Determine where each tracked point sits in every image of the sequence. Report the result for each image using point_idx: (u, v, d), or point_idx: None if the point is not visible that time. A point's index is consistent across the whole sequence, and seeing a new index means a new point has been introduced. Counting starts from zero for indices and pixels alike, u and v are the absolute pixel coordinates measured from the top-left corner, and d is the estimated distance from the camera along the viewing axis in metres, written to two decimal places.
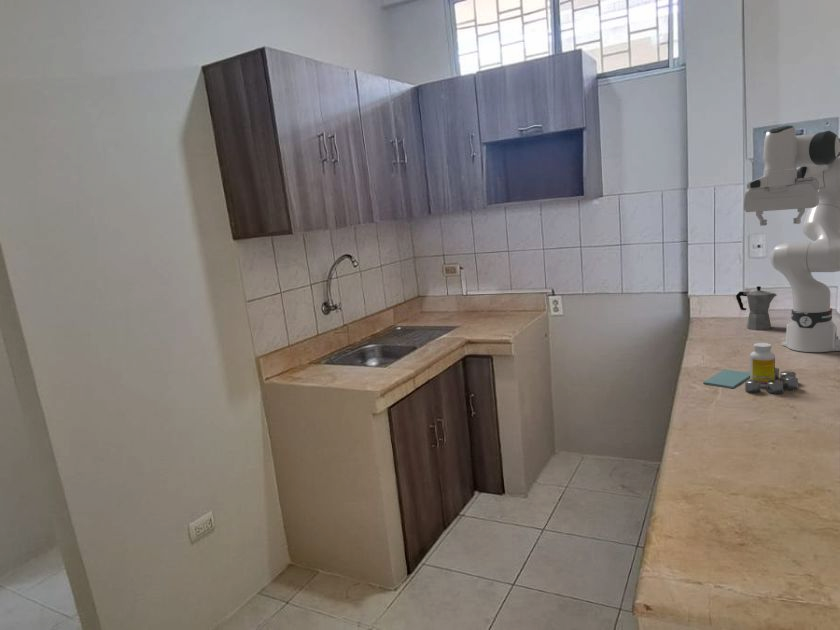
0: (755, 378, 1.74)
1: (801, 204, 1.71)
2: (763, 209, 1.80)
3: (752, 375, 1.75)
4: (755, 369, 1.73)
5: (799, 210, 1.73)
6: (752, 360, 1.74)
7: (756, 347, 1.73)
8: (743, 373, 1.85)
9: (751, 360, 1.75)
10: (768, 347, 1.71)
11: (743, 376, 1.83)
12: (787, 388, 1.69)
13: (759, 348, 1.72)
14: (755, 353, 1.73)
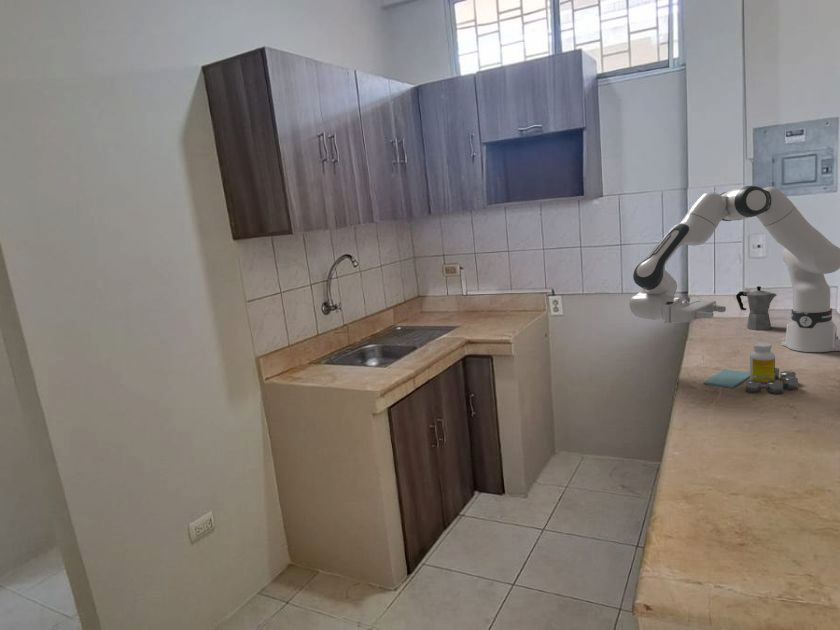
0: (755, 378, 1.74)
1: (708, 301, 1.90)
2: (696, 308, 1.82)
3: (752, 375, 1.75)
4: (755, 369, 1.73)
5: (713, 304, 1.88)
6: (752, 360, 1.74)
7: (756, 347, 1.73)
8: (743, 373, 1.85)
9: (751, 360, 1.75)
10: (768, 347, 1.71)
11: (743, 376, 1.83)
12: (787, 388, 1.69)
13: (759, 348, 1.72)
14: (755, 353, 1.73)
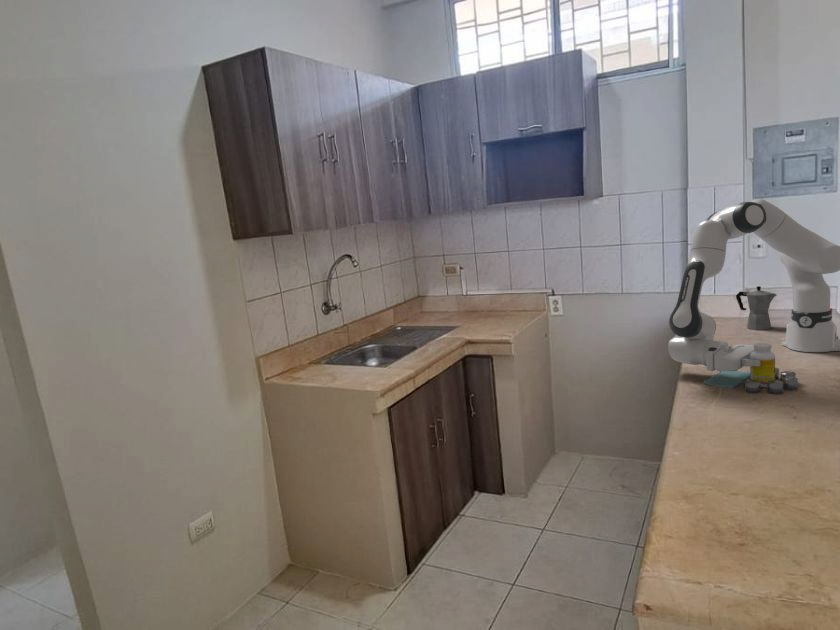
0: (755, 378, 1.74)
1: (752, 347, 1.82)
2: (742, 355, 1.75)
3: (752, 375, 1.75)
4: (755, 369, 1.73)
5: None
6: None
7: (756, 347, 1.73)
8: (743, 373, 1.85)
9: None
10: (768, 347, 1.71)
11: (743, 376, 1.83)
12: (787, 388, 1.69)
13: (759, 348, 1.72)
14: (755, 353, 1.73)
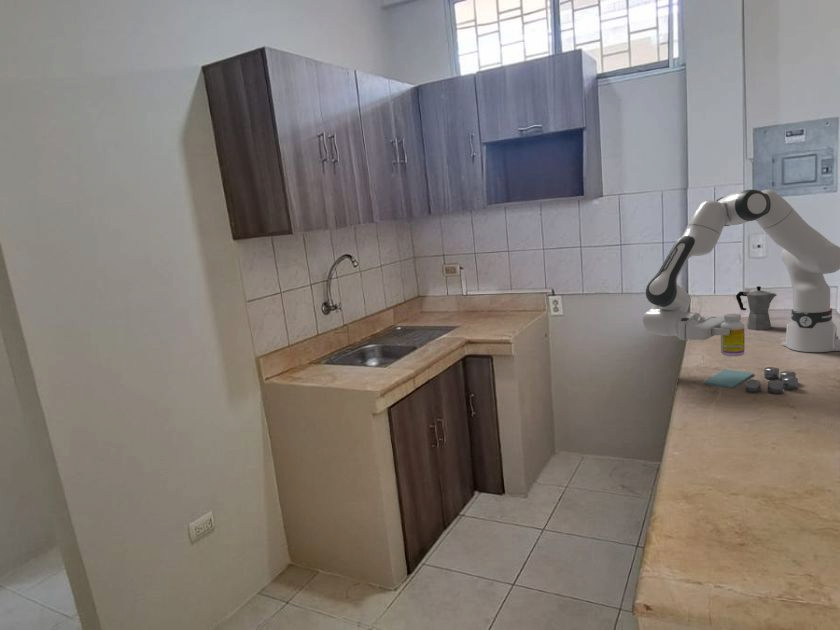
0: (725, 348, 1.79)
1: (723, 318, 1.87)
2: (712, 325, 1.79)
3: (722, 345, 1.80)
4: (725, 339, 1.78)
5: None
6: None
7: (726, 317, 1.78)
8: (743, 373, 1.85)
9: None
10: (738, 317, 1.76)
11: (743, 376, 1.83)
12: (787, 388, 1.69)
13: (729, 318, 1.77)
14: (725, 323, 1.78)
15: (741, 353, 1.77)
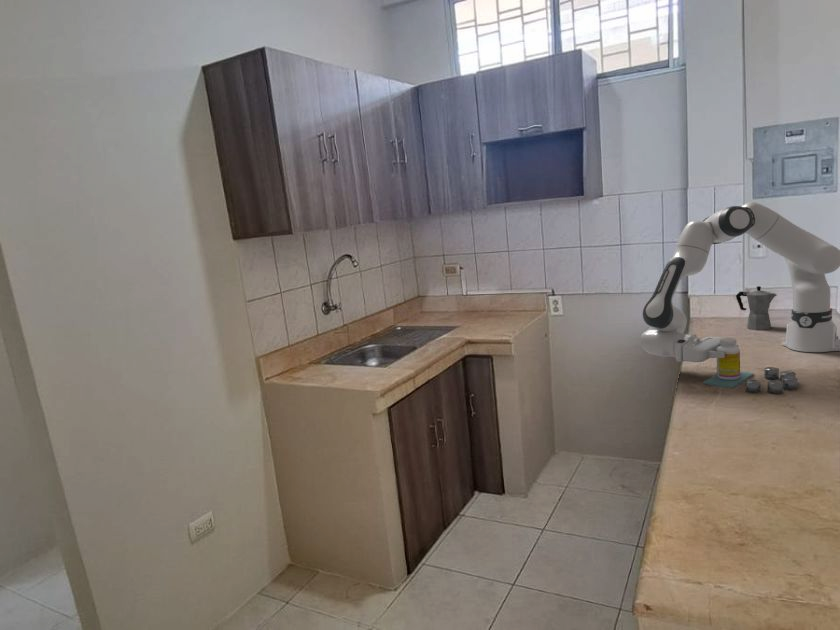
0: (721, 371, 1.82)
1: None
2: (708, 347, 1.82)
3: (718, 369, 1.82)
4: (721, 363, 1.81)
5: None
6: None
7: (722, 342, 1.81)
8: (743, 373, 1.85)
9: None
10: (733, 341, 1.79)
11: (743, 376, 1.83)
12: (787, 388, 1.69)
13: (724, 342, 1.80)
14: (721, 347, 1.81)
15: (737, 377, 1.80)
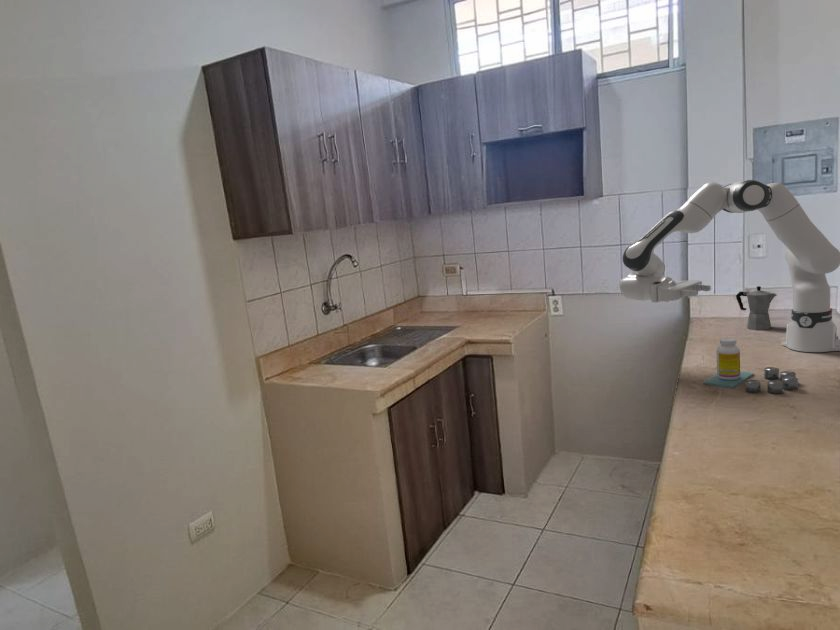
0: (721, 371, 1.82)
1: (694, 281, 1.98)
2: (682, 287, 1.91)
3: (718, 369, 1.82)
4: (721, 363, 1.81)
5: (698, 284, 1.96)
6: (718, 354, 1.82)
7: (722, 342, 1.81)
8: (743, 373, 1.85)
9: (717, 354, 1.82)
10: (733, 342, 1.79)
11: (743, 376, 1.83)
12: (787, 388, 1.69)
13: (724, 343, 1.80)
14: (721, 347, 1.81)
15: (737, 377, 1.80)
